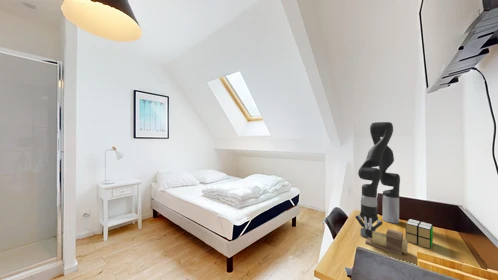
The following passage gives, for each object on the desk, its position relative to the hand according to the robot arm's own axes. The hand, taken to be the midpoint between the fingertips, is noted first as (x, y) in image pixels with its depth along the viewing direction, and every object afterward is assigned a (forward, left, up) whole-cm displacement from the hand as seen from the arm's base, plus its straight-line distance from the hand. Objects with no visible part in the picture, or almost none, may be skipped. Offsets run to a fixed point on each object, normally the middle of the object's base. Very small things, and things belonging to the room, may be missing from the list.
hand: (368, 235), depth 102 cm
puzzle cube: (-20, +20, -3) cm, 29 cm away
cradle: (-9, -2, -3) cm, 10 cm away
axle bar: (0, +9, -2) cm, 10 cm away
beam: (0, +7, -3) cm, 8 cm away
